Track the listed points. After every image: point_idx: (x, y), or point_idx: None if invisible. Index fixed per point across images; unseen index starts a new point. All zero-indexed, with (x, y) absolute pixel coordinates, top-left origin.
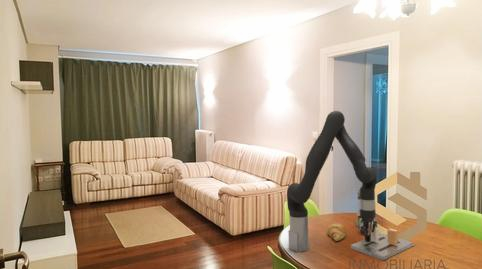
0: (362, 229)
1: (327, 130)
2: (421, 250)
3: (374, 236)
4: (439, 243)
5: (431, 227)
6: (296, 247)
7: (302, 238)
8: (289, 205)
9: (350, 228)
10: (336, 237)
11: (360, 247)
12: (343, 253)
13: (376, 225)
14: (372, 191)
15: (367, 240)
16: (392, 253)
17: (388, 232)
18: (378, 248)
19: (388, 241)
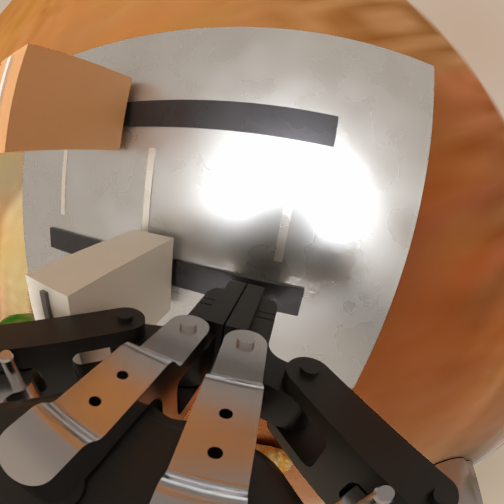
0: (419, 467)
1: None
2: (88, 13)
3: (139, 274)
4: (12, 47)
5: None
6: (473, 474)
7: (474, 498)
8: None
9: None
10: (287, 468)
11: (366, 315)
12: (448, 363)
13: (7, 322)
14: None
15: (275, 307)
16: (287, 33)
17: (35, 134)
18: (283, 161)
19: (108, 140)
